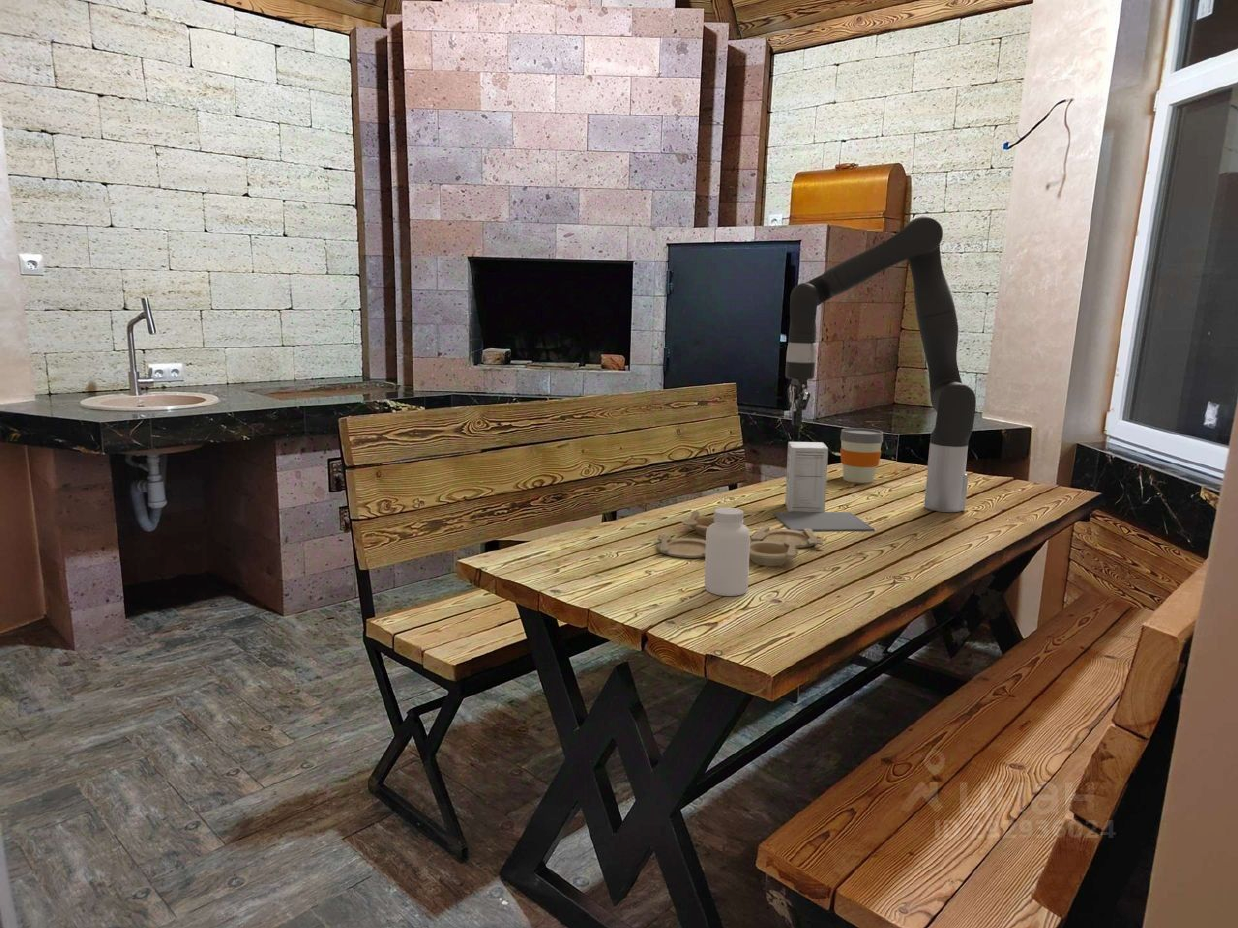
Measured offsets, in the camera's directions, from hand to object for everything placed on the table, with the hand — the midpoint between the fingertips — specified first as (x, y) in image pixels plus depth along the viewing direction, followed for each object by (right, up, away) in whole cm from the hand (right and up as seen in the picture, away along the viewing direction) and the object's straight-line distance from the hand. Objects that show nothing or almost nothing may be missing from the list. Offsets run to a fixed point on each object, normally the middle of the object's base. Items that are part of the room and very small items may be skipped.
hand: (796, 425), depth 219 cm
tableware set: (-22, -29, -41) cm, 55 cm away
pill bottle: (-28, -34, -69) cm, 82 cm away
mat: (+2, -25, -20) cm, 32 cm away
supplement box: (+1, -22, -7) cm, 23 cm away
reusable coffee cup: (+25, -15, +30) cm, 42 cm away
